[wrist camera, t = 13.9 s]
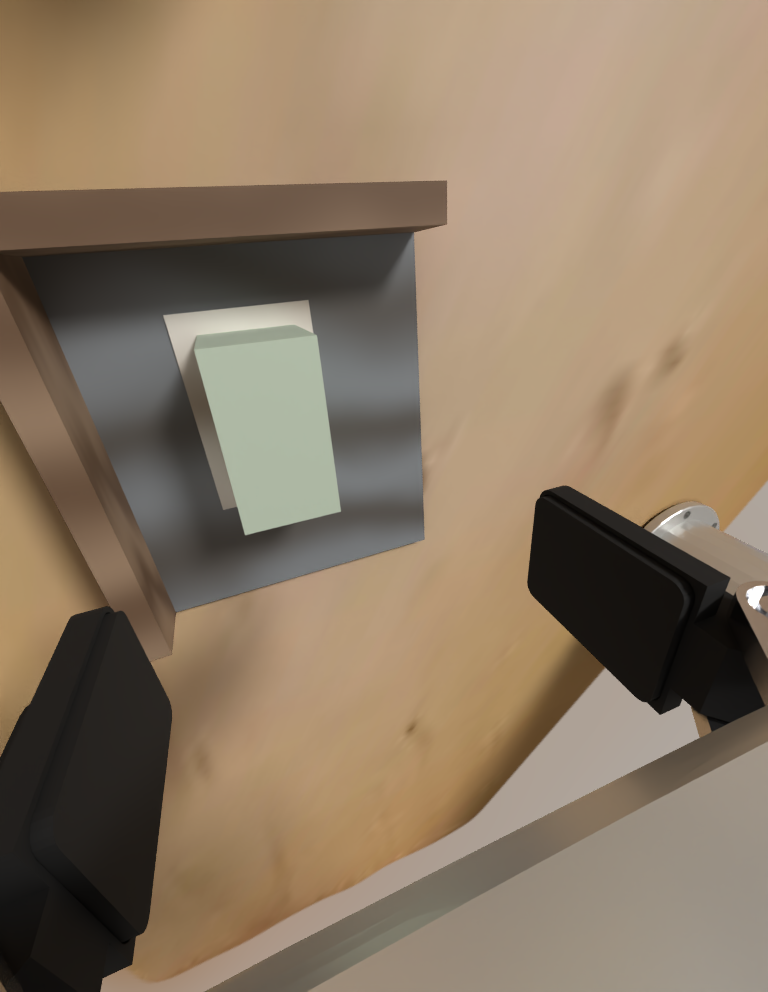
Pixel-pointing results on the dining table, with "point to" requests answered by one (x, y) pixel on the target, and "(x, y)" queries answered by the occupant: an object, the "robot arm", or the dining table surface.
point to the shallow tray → (177, 379)
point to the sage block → (271, 423)
